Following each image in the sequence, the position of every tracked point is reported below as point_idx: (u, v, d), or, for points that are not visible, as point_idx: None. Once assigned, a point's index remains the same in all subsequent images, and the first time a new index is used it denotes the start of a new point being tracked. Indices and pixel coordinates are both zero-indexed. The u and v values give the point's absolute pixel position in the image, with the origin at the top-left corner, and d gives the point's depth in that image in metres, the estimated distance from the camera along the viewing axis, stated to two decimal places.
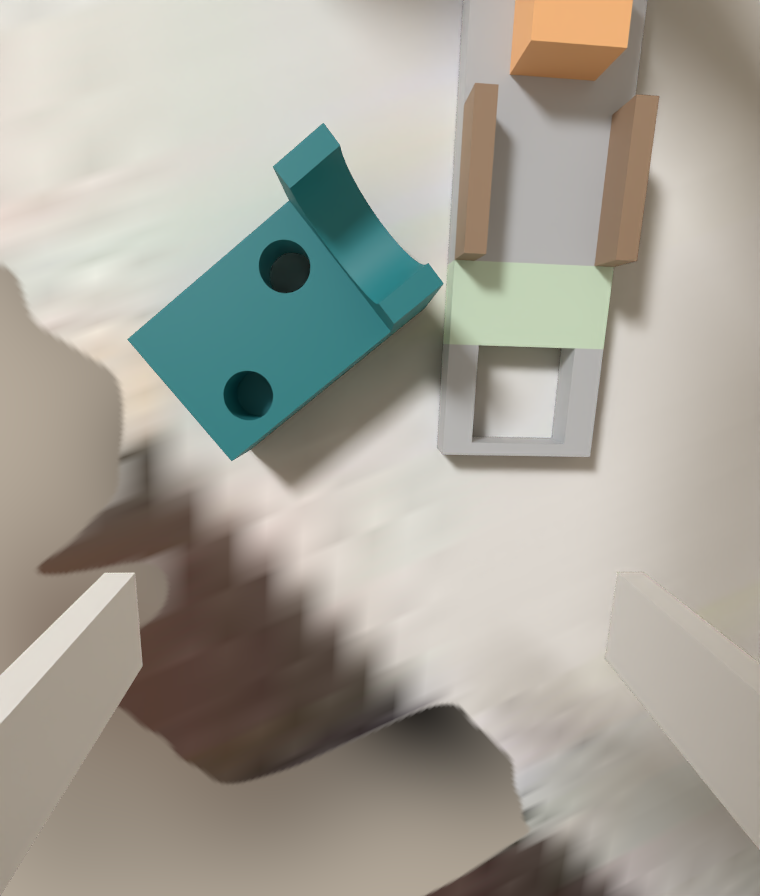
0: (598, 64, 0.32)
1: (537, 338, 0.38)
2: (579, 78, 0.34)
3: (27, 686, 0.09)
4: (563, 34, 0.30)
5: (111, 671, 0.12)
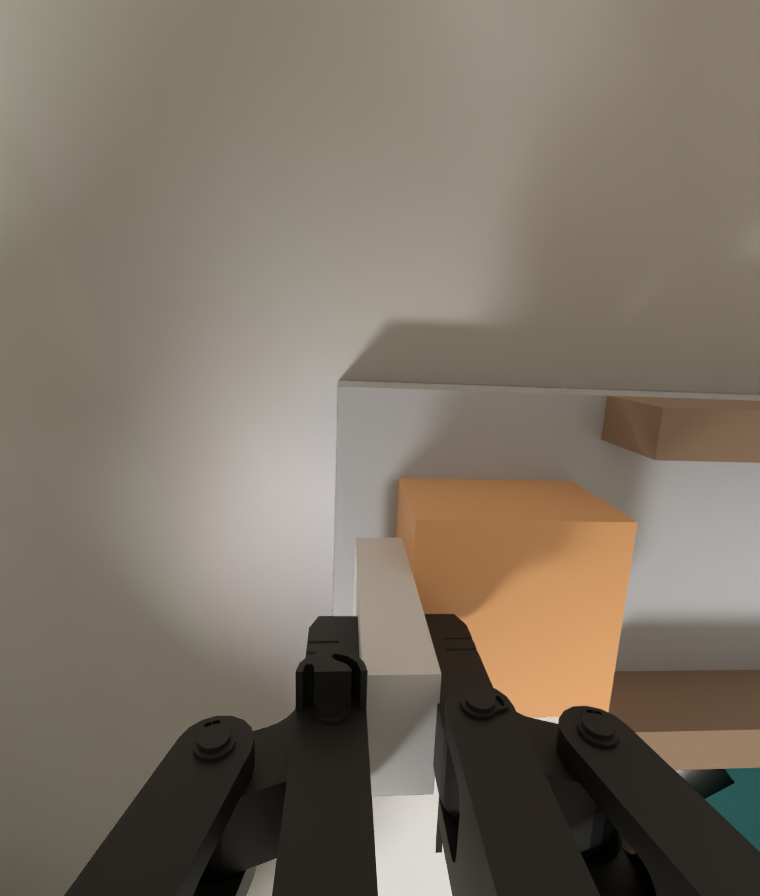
0: None
1: None
2: None
3: (387, 610, 0.11)
4: (602, 657, 0.14)
5: None
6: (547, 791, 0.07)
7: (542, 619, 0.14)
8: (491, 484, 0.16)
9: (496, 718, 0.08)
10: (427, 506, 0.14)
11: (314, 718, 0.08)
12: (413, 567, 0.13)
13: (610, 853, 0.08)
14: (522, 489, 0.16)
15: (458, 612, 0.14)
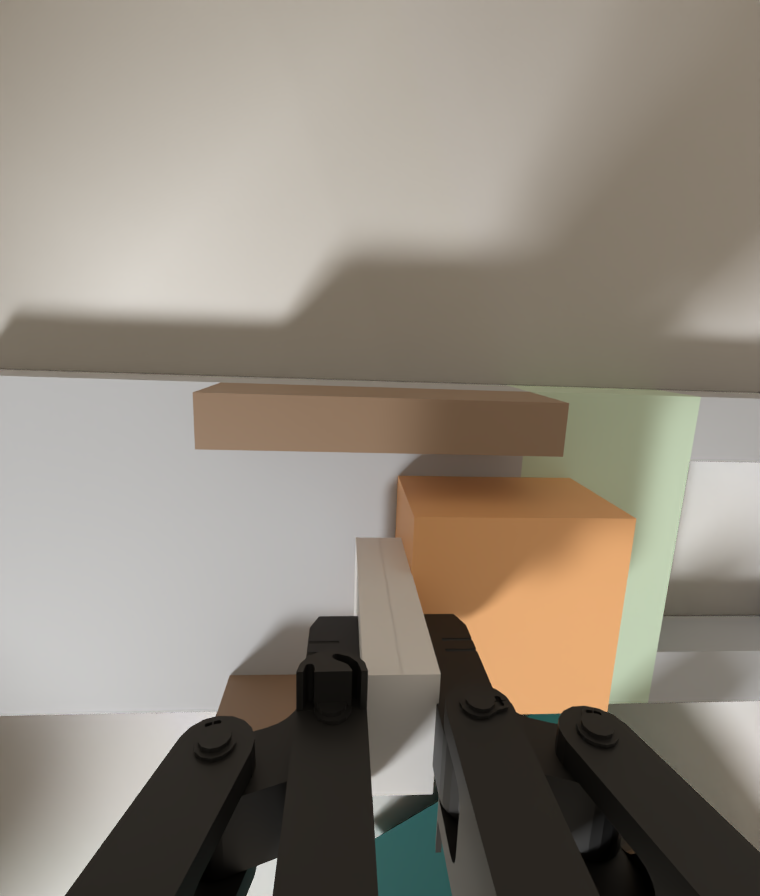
0: None
1: (659, 541, 0.18)
2: None
3: (387, 610, 0.11)
4: (601, 654, 0.14)
5: None
6: (547, 791, 0.07)
7: (542, 616, 0.14)
8: (490, 481, 0.16)
9: (496, 718, 0.08)
10: (426, 503, 0.14)
11: (315, 718, 0.08)
12: (412, 564, 0.13)
13: (609, 853, 0.08)
14: (520, 486, 0.16)
15: (456, 609, 0.14)
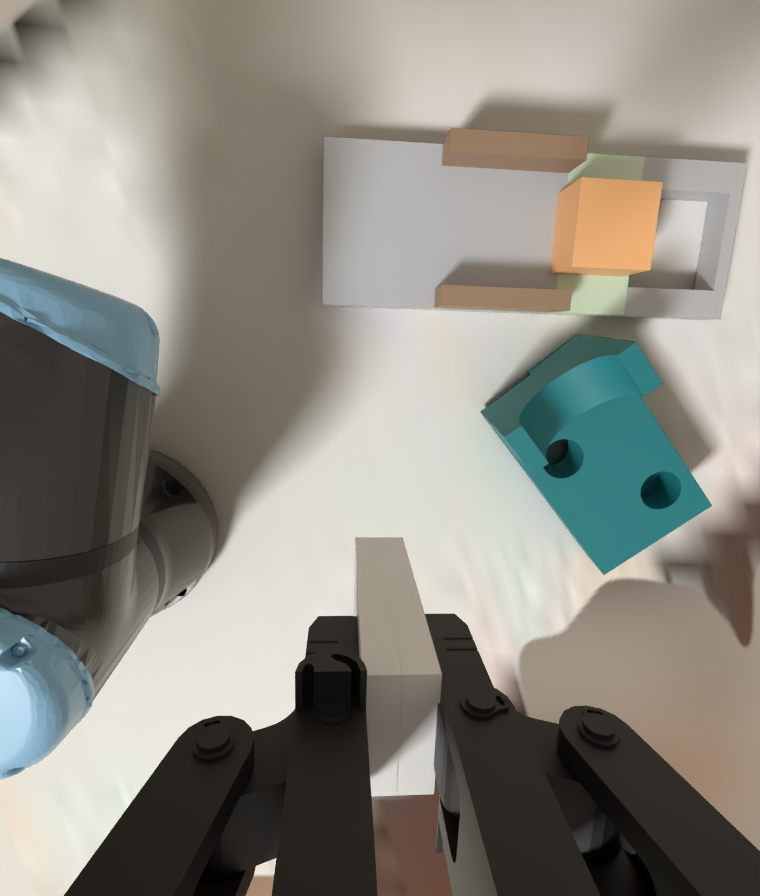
0: None
1: None
2: None
3: (387, 610, 0.11)
4: (648, 242, 0.36)
5: None
6: (548, 791, 0.07)
7: (626, 223, 0.36)
8: None
9: (497, 718, 0.08)
10: None
11: (314, 718, 0.08)
12: (579, 198, 0.36)
13: (610, 853, 0.08)
14: None
15: (594, 218, 0.36)
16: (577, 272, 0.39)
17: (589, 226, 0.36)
